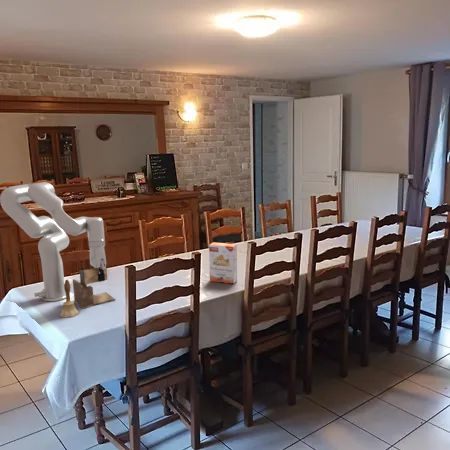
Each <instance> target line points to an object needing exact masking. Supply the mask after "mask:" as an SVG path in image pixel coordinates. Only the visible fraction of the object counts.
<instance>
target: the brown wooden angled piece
mask: <svg viewBox="0 0 450 450" xmlns="http://www.w3.org/2000/svg"><path fill="white" fill-rule="evenodd" d="M72 286H73V297H74V301H73V302H75V303H76V304H77V305H79V306H80V307H81V308H82V309H85V308H90V307H95V306H98V305H102V304H106V303H111V302H115V301H116V298H114V296H111V294H109V293H108V292H102V293H101V292H100V293H96V294H94V287H92V285H89V286H88V284H85V285H82V284H81V282H79V281H78V280H77V279H76V278H74V279H72Z"/></svg>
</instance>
